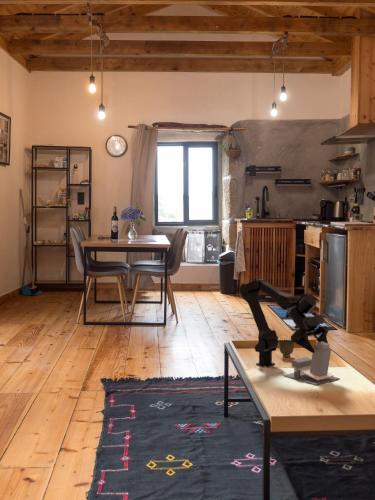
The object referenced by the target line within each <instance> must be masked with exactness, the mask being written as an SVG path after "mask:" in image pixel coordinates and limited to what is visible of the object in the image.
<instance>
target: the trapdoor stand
mask: <svg viewBox="0 0 375 500" xmlns="http://www.w3.org/2000/svg"><path fill="white" fill-rule="evenodd" d="M283 377H285V378H288V379H292V380H295V381H299V382H303V383H305V384H310V385H313V386H320V385H323V384H327V383H331V382H335V381H338V380H340V379H341V378H339V377H336V376H333V377H329V378H325V379H321V380H316V379H314V378H312V377H310V376H308V375H306V374H304V373H302V372H300V369H297V368H295V369H294V368H293V372H292V373H287V374H283Z"/></svg>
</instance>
